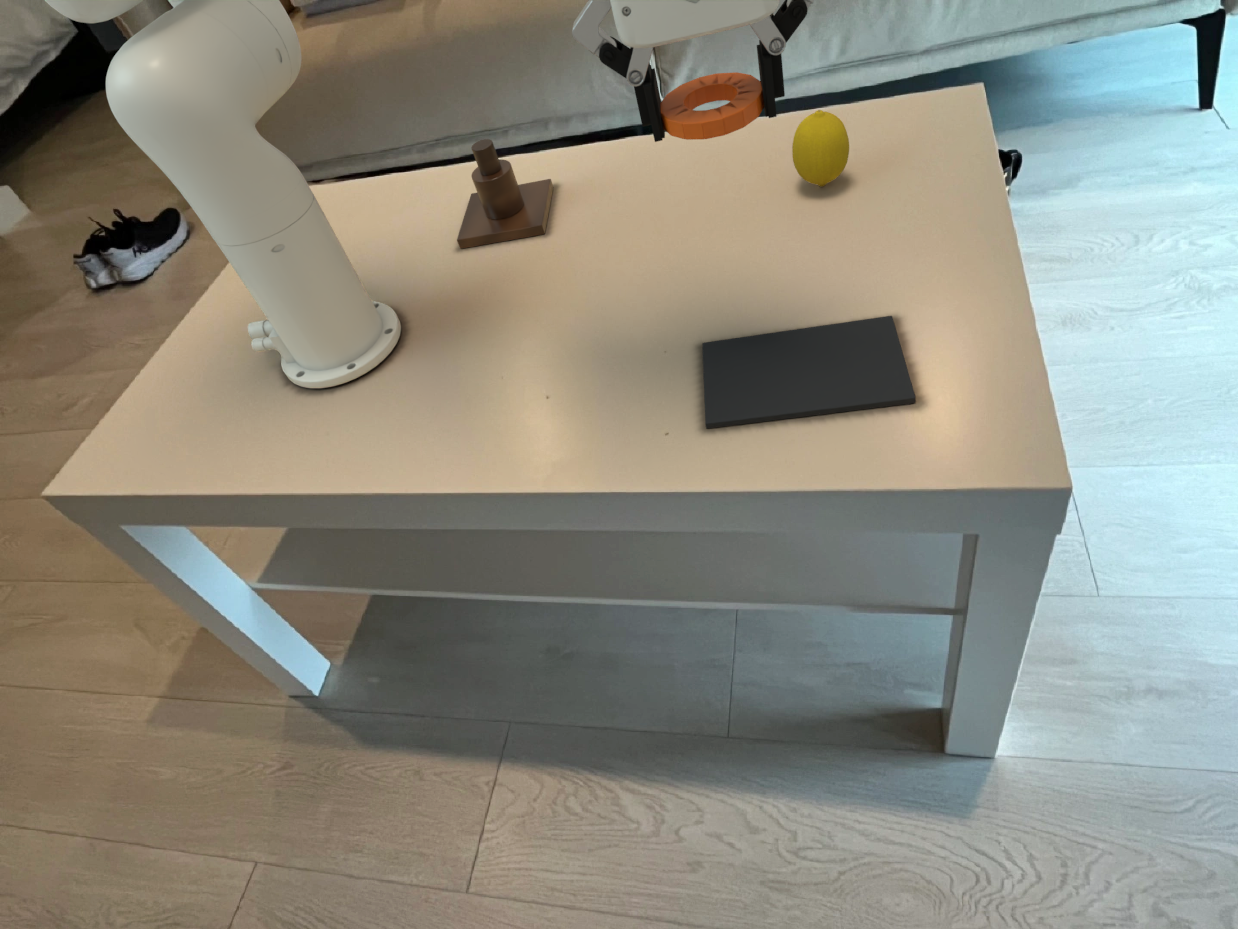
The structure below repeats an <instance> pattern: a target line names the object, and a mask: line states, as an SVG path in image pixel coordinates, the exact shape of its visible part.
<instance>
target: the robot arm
mask: <svg viewBox="0 0 1238 929" xmlns="http://www.w3.org/2000/svg"><path fill="white" fill-rule="evenodd" d="M44 1H45V3H46V4H48V6H50V7H51V8H52V9H53V10H55V11H56V12H58V13H59V14H60V15H62V16H64V17H66V18H67V19H70V20H71V21H75V22H78V23H82V24H83V23H84V24H97V23H103V22H108V21H109V20H112V19H115V18H117V17H119V16H122V15H123V14H125V13H127V12H129V11H130V10H132V9H133V8H135V7H136V6H138V5H140V4H141V3H143V2H144V1H145V0H44ZM167 1H168V2H169V4H170V5H171V6H172V9H169V10H167V11H165V12H164V13H163V14H161V15H160V16H159V17H157V18H156V19H154V20H153V21H151V22H149V23H148V24H147V25H146V26H145V27H143V28H141V30H139V31H138V32H136V33H135V34H133V35H132V36H130V38H129V39H127V41H125V42H124V43H123V44H122V46H121V47H120V48H119V50H117V52H116V53H115V55H114V56H113V57H112V58H111V61H110V63H109V66H108V68H107V72H106V76H105V94H106V99H107V102H108V106H109V109H110V110H111V113H112V115H113V116H114V118H115V119H116V122H117V123H118V125H119V126H120V127H121V128H122V130H123V131H124V132H125V133H126V135H127V136H128V137H129V138H130V139H131V140H132V141H133V142H134V144H136V146H137V147H138V148H139V149H140V150H141V151H142V152H143V153H144V154H145V155H146V157H148V158H149V159H150V160H151V161H152V162H153V163H154V164H155V165H156V166H157V167H158V168H159V170H160V171H162V173H163V174H164V175H165V176H166V177H167V178H168V180H169V181H170V182H171V183H172V184H173V185H174V187H175V188H176V189H177V190H178V192H179V193H180V194H181V195H182V197H183V198H184V200H185V201H186V202H187V204H188V205H189V206H190V208H191V209H192V211H194V213H195V214H196V216H197V217H198V219H199V220H200V222H201V223H202V225H203V226H204V228H205V229H206V231H208V233H209V235H210V237H211V238H212V240H213V241H214V242H215V243H216V245H217V246H218V248H219V249H220V250H221V252H222V254H223V256H224V257H225V259H226V260H227V261H228V262H229V264H230V266H231V267H232V268H233V270H234V272H235V273H236V274H237V276H238V278H239V279H240V280H241V282H242V283H243V285H244V286H245V288H246V289H247V291H248V292H249V294H250V295H251V297H252V298H253V300H254V301H255V303H256V304H257V306H258V307H259V309H260V310H261V312H262V314H264V316H265V317H266V319H263V320H257V321H251V322H249V323H248V324H247V332H248V335H249V337H250V338H251V348H252V350H253V351H254V353H260V352H267V351H270V350H275V351H276V352H278V353H279V355H280V356H281V357H280V366H281V369H282V371H283V374H284V375H286V377H287V379H288V380H289V381H291V383H293V385H297V386H299V387H301V388H307V389H325V388H333V387H336V386H340V385H343V384H346V383H348V382H350V381H353V380H356V379H357V378H360V377H361V376H363V375H365V374H367V373H368V372H371V370H373V369H375V368H376V367H377V366H379V365H380V363H382V362H383V361H384V360H385V359H386V358H387V357H388V356H389V355H390V354H391V353H392V352H393V350H394V348H395V347H396V345H397V344H398V341H399V339H400V336H401V332H402V324H401V321H400V319H399V317H398V315H397V313H396V311H395V310H394V309H393V308H392V307H391V306H389V305H387V303H384V302H381V301H375V300H372V298H371V297H370V295H369V293H368V291H367V289H366V288H365V286H364V283H363V282H362V280H361V278H360V277H359V275H358V273H357V271H356V270H355V267H354V265H353V264H352V262H351V260H350V259H349V256H348V254H347V252H346V250H345V249H344V247H343V245H342V243H341V242H340V240H339V238H338V237H337V236H338V235H337V234H336V233H335V230H334V229H333V227H332V225H331V223H330V222H329V219H328V218H327V216H326V214H325V212H324V210H323V208H322V207H321V205H320V203H319V202H318V199H317V197H316V196H315V194H314V192H313V191H312V189H311V187H310V185H309V184H308V181H307V180H306V178H305V176H304V175H303V173H302V172H301V170H300V169H299V168H298V166H297V165H296V164H295V163H294V162H293V160H291V158H290V157H289V156H288V155H286V154H285V153H283V151H281V150H280V149H279V148H277V147H276V146H274V145H273V144H272V143H270V142H269V141H268V140H267V139H265V138H264V137H263V136H262V135H261V134H260V133H259V131H258V130H257V127H256V125H257V123H258V122H259V121H260V120H261V119H262V118H263V116H264V115H265V114H266V113H267V112H268V111H269V110H270V109H271V108H272V107H273V106H274V105H275V104H276V103H277V102H278V101H279V100H280V99H281V98H282V97H284V95H285V94H286V93H287V92H288V90H290V88H292V86H293V84H294V83H295V82H296V80H297V79H298V76H299V74H300V71H301V68H302V67H301V66H302V61H303V60H302V58H303V57H302V47H301V44H300V39H299V36H298V34H297V31H296V28H295V27H294V24H293V22H292V20H291V18H290V16H289V14H288V13H287V11H286V9H285V7H284V6H283V4H282V2H281V1H280V0H167ZM780 1H781V0H588V1H587V2H586V3H585V5H584V6H583V8H582V9H581V10H580V13H579V14H578V16H577V17H576V19H575V20H574V21H573V24H572V28H571V36H572V38H573V40H574V41H575V42H576V43H578V44H580V45H581V46H582V47H583V48H584V49H586V50H587V51H588V52H589V53H591V54H592V55H595V56H596V57H597V58H598V59H599V60H600V62H601V63H602V64H603V65H605V66H606V67H608V68H609V69H611V70H612V71H614V72H615V73H617V74H618V75H620V76H621V77H623V78H625V79H626V82H627V83H628V85H629V86H632V87H633V89H634V94H635V98H636V103H637V108H638V114H639V117H640V122H641V125H642V127H647V126H648V127H649V126H651V130H652V135H653V140H654V142H655V143H657V142H661V141H663V139H665V138H666V131H665V130H664V128H663V123H662V118H661V102H662V99H661V95H660V90H659V83H658V79H657V74H656V69H655V68H654V67H652V64H651V63H650V62H651V61H650V60H651V58H652V54H653V51H654V48H655V47H660V46H666V45H670V44H674V43H678V42H679V43H680V42H683V41H687V40H691V39H696V38H700V37H705V36H709V35H714V34H718V33H721V32H726V31H730V30H735V29H738V28H743V27H747V26H749V27H750V28H751V29H752V30H753V32H754V34H755V36H757V38H758V39H759V40H758V41H759V42H758V43H759V44H756V52H757V62H758V63H757V64H758V73H759V81H760V82H761V85H762V90H763V100H764V108H763V111H764V116H765V117H766V118H767V117H768V119H771V118H776V117H777V106H776V105H777V104H776V99H780V98H783V97H785V96H786V95H785V94H786V92H785V82H784V81H785V80H784V70H783V58H782V53H784V52H785V50H786V47H787V43H788V41H789V40H790V38H791V37H792V36H793V35H794V33H795V32H796V30H797V29H798V28H799V27H800V26H801V24H802V22H803V21H804V20H805V18H806V17H807V16H808V11H809V9H810V7H811V6H812V5H813V4H814V2H815V1H816V0H784V1H783V3H782V4H781V5H780ZM779 5H780V6H779ZM776 10H777V11H776ZM610 11H611V12H612V15H613V20H614V25H615V28H616V32H617V34H618V38H619V39H620V40H618V39H616V38H615V37H614V36H610V35H609V34H607V33H606V31H605V30H604V29H602V28H601V24H602V22H603V21H604V20H605V18H606V16H607V15H608V13H609V12H610Z"/></svg>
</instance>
